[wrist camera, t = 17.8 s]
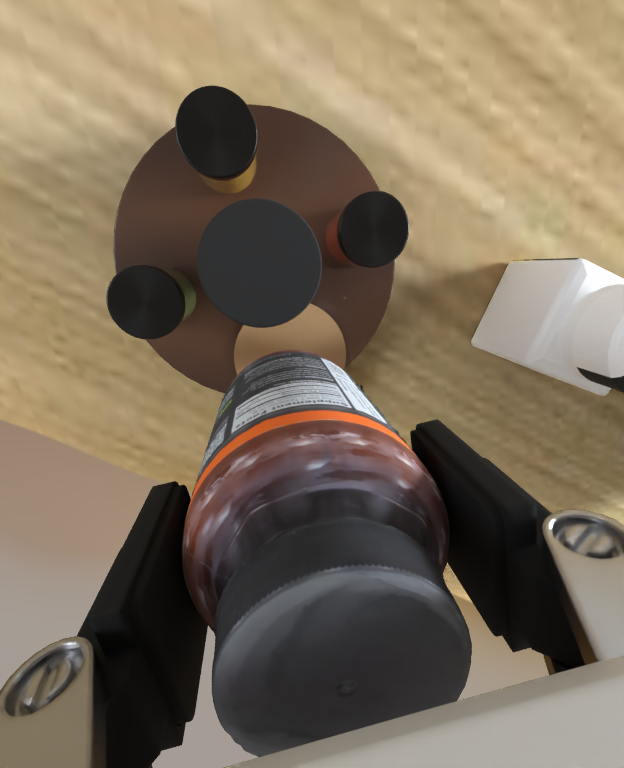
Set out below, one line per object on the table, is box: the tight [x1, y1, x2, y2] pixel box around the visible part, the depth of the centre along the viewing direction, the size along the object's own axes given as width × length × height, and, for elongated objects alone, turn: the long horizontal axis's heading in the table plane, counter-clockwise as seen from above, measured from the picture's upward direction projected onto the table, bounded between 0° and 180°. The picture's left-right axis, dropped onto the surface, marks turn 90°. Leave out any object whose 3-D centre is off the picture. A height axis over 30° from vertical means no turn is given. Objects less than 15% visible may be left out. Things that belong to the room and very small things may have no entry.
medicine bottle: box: [471, 258, 624, 396], centre depth 26 cm, size 7×7×12 cm
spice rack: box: [107, 86, 409, 393], centre depth 20 cm, size 19×18×12 cm
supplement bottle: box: [182, 350, 472, 757], centre depth 11 cm, size 6×6×11 cm
